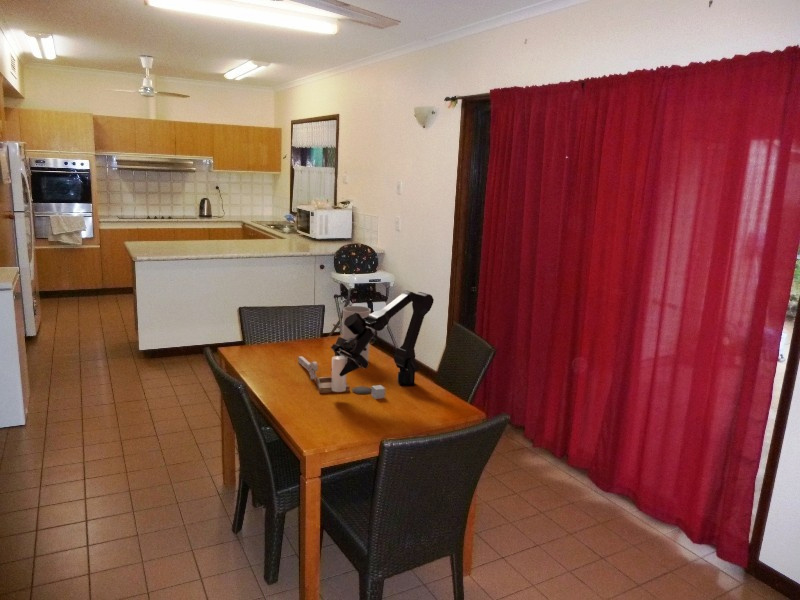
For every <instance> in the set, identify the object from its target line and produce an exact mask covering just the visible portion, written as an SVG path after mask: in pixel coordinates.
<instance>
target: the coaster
mask: <svg viewBox="0 0 800 600" xmlns="http://www.w3.org/2000/svg"><path fill="white" fill-rule="evenodd" d="M351 391H352V393H354V394H357V395H369V394H371V392H372V387H371V388H370V387H368V386H355V387H352V390H351Z"/></svg>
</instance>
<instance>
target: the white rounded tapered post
mask: <svg viewBox="0 0 800 600" xmlns="http://www.w3.org/2000/svg"><path fill="white" fill-rule="evenodd" d="M346 364H347V358H346V357H344V356H335V355H334V356H332V357H331V368H332V371H331V377H332V380H331V390H332V391H335V392H334V393H344V392H343V391H345V390H346V384H347V374H345V375H343V376H340V375H339V374H340V373H341V371H342V369H343V368H344V367H345V365H346Z"/></svg>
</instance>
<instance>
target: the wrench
mask: <svg viewBox="0 0 800 600" xmlns="http://www.w3.org/2000/svg"><path fill="white" fill-rule="evenodd" d="M297 361H298V364H300V365H301V366H302V367H303V368H305V369H306V370H307V371H308V373H309V376H310V380H316V378H317V377H318V375H317V373H316V371H319V366H318V362H317V361H311V362H310V361H308V360H307V358H305V357H304V356H302V355H301V356H298V357H297Z"/></svg>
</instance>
